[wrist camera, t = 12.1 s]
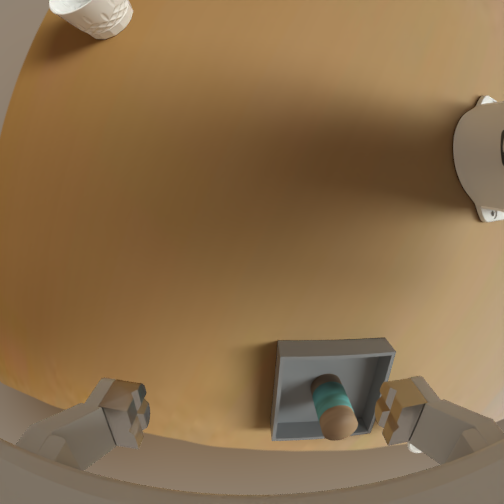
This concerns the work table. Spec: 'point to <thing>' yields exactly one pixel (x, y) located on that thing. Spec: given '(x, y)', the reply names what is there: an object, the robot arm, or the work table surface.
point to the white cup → (94, 15)
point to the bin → (327, 362)
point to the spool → (333, 407)
